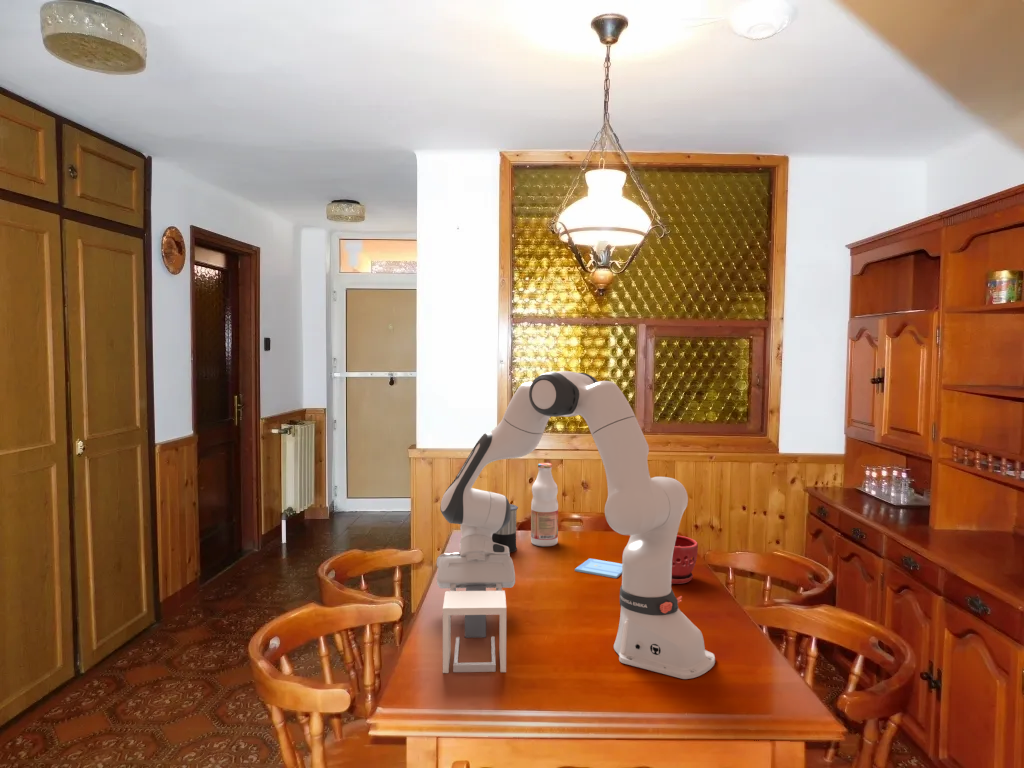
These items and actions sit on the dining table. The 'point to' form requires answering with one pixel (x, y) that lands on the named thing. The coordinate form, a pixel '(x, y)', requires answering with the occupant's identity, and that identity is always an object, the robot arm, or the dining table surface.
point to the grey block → (475, 618)
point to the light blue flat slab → (600, 568)
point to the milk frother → (508, 532)
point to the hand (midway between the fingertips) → (475, 602)
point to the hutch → (474, 606)
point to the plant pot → (683, 559)
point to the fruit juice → (544, 508)
